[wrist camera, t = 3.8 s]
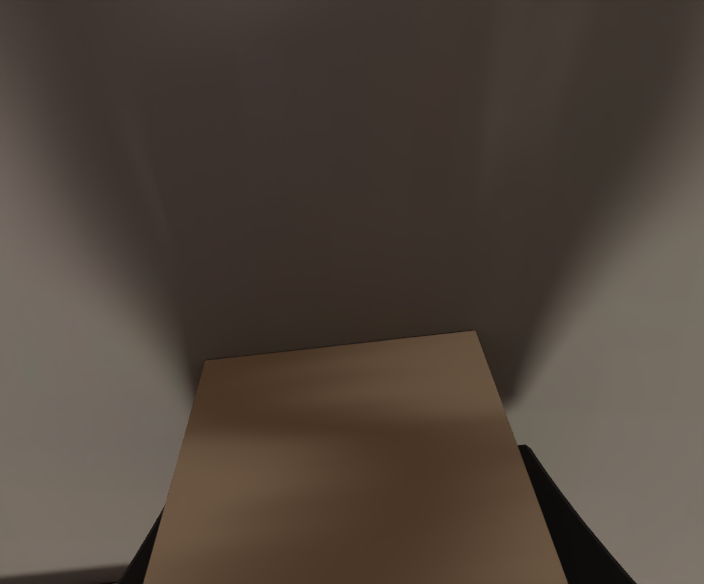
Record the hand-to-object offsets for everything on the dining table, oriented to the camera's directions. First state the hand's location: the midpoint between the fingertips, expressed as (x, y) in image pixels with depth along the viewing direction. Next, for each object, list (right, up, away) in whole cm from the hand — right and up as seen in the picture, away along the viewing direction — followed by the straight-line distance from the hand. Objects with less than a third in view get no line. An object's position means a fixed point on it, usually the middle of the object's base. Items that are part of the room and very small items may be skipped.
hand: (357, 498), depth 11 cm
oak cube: (0, +1, +1) cm, 1 cm away
